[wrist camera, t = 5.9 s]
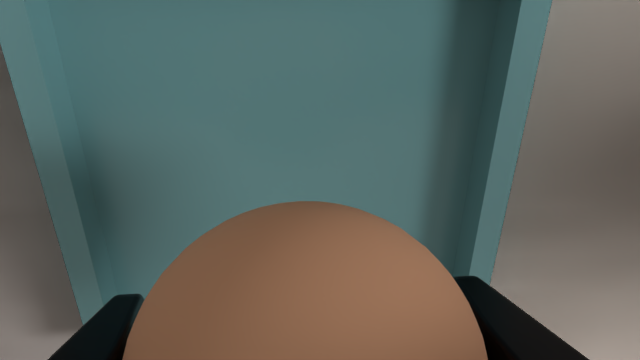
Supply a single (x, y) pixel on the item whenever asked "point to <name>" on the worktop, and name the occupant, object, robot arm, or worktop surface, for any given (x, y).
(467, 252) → the coaster tray
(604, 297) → the worktop surface
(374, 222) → the ball
